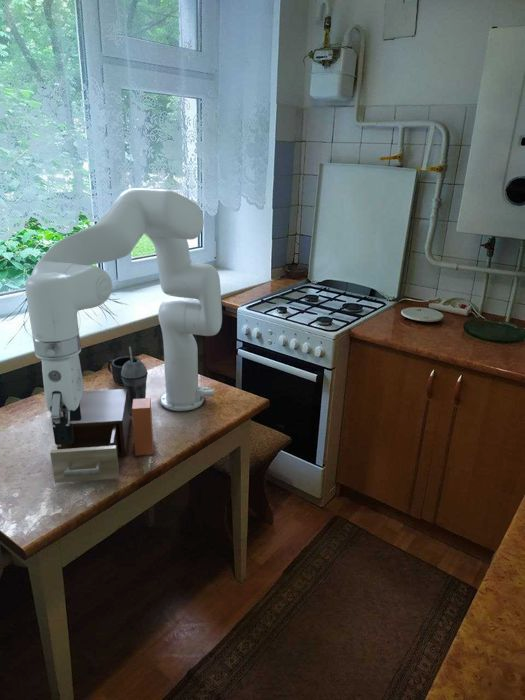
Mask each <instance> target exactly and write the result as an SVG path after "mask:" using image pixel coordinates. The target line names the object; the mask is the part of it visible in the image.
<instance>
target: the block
mask: <svg viewBox="0 0 525 700" xmlns="http://www.w3.org/2000/svg"><path fill="white" fill-rule="evenodd" d="M152 411H153V410H152V399H151V397H146V398H143V399H133V404H132V415H131V416H132V427H133V428H132V429H133V441H134V442H133V444H134V453H135V456H147V455H150V456H151V455H154V430H153V413H152Z"/></svg>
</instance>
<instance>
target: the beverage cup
mask: <svg viewBox="0 0 525 700" xmlns="http://www.w3.org/2000/svg"><path fill="white" fill-rule="evenodd" d="M128 350H129V356H130V358H131V360H129V361H127V362H126V363H125V364H124V365H123V367H122V370H121V377H122V381H123V383H124V385H123V389H127V392H128V404H129V414H132V404H133V399H143V398H147V397H146V396H147V379H148V369H147V366H146V364H145V363H144V362H142V360H141V361H139V360H136V359H133V358H132V357H133V352H132V346H129V347H128Z"/></svg>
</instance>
